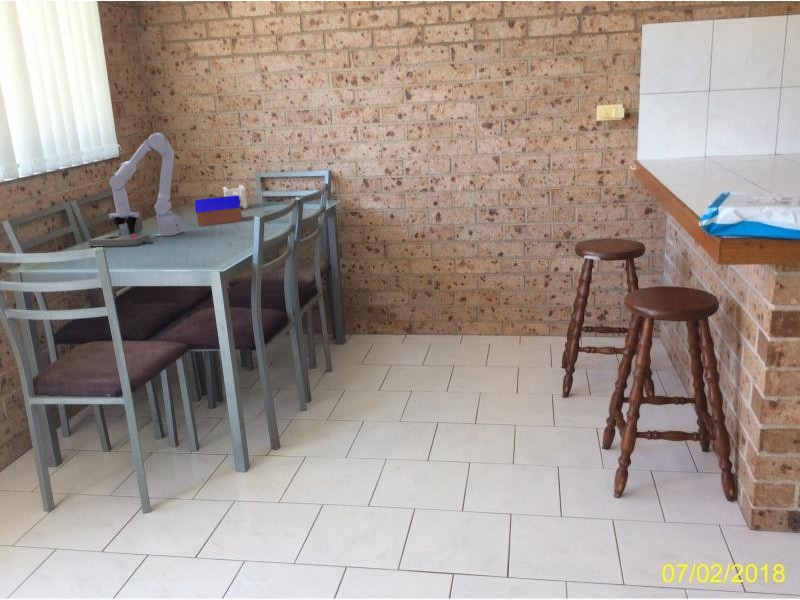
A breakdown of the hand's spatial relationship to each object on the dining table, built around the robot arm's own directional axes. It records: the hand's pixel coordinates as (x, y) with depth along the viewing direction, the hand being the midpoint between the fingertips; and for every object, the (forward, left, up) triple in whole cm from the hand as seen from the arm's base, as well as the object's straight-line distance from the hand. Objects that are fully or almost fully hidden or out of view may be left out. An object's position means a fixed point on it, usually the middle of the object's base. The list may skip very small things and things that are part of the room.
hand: (127, 233), depth 329 cm
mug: (+10, -8, 0) cm, 12 cm away
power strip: (-5, +10, -2) cm, 12 cm away
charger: (0, 0, -2) cm, 2 cm away
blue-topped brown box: (-26, -33, -3) cm, 43 cm away
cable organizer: (-16, -67, -3) cm, 69 cm away
